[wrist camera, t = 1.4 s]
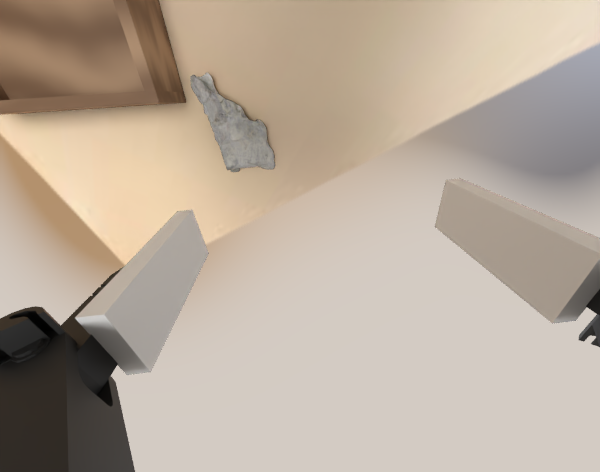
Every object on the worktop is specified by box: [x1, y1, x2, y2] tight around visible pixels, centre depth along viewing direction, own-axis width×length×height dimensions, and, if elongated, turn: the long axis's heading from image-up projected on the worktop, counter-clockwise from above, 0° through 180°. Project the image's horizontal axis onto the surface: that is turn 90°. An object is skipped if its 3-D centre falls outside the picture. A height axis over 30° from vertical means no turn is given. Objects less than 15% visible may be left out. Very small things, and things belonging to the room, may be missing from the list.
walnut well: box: [0, 0, 186, 114], centre depth 20 cm, size 15×20×7 cm
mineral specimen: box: [190, 73, 275, 172], centre depth 28 cm, size 6×12×4 cm, turn 15°
